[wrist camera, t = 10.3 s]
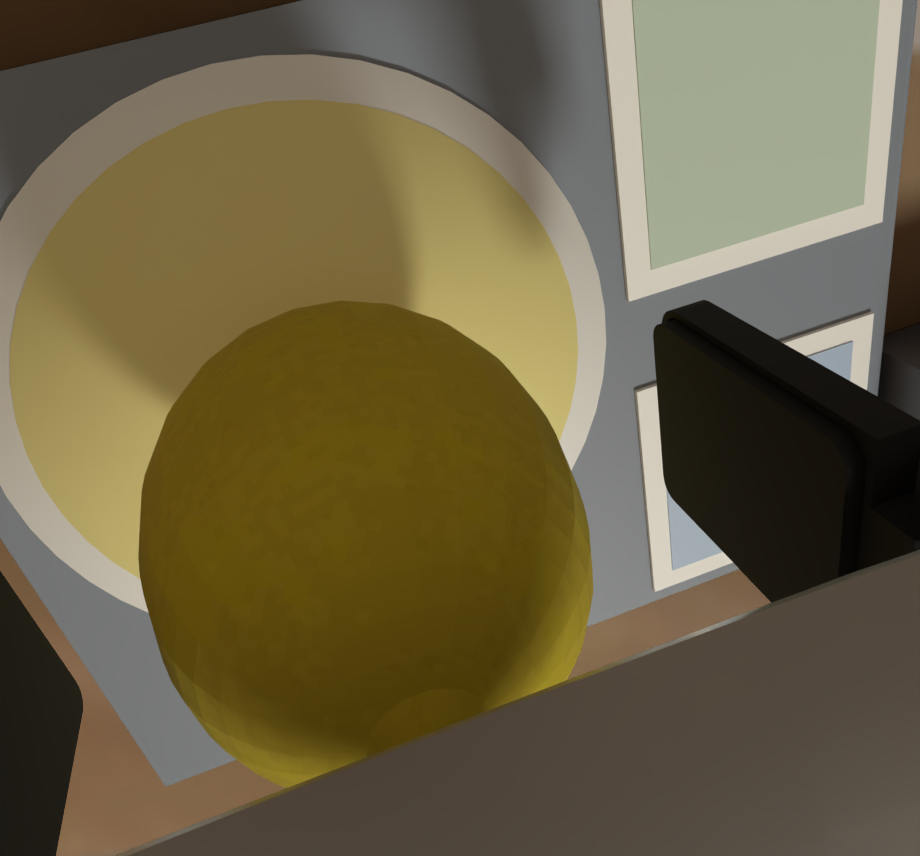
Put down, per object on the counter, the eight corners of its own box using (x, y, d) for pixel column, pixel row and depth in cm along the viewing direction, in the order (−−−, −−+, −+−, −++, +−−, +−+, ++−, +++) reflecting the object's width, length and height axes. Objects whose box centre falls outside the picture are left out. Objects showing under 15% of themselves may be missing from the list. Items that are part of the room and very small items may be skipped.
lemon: (113, 271, 12) (-24, 626, 5) (461, 215, 13) (748, 439, 6) (205, 555, 14) (200, 1037, 8) (484, 488, 15) (699, 855, 9)
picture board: (885, -137, 13) (938, -149, 12) (837, 500, 20) (868, 524, 19) (-230, 125, 11) (-274, 135, 10) (167, 749, 18) (165, 791, 17)
